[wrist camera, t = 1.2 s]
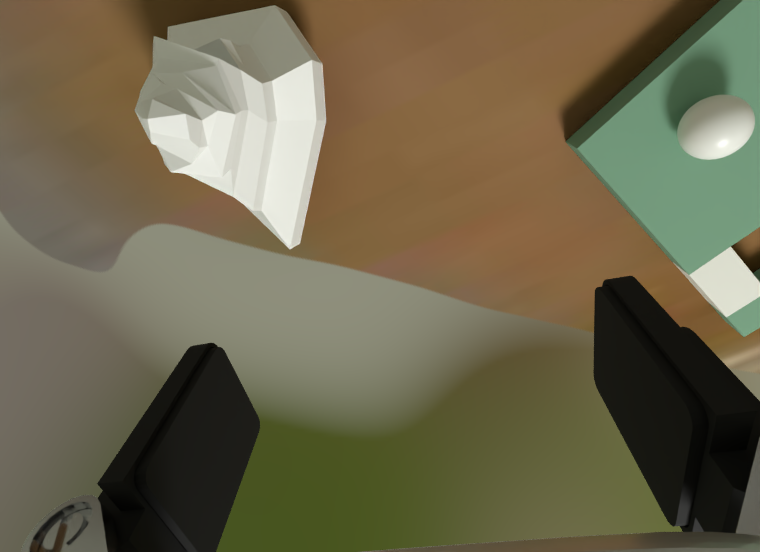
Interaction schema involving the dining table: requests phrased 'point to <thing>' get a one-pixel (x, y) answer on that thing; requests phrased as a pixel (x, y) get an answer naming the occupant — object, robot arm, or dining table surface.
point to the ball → (716, 127)
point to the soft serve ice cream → (240, 111)
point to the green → (689, 157)
